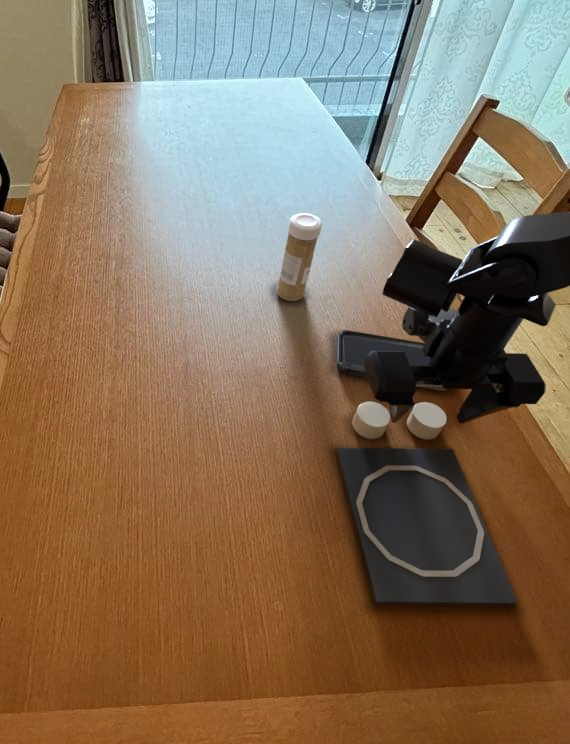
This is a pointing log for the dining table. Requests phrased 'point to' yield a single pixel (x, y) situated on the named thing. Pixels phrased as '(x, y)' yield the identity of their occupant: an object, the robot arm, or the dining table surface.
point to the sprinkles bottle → (298, 255)
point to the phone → (359, 345)
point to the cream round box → (371, 420)
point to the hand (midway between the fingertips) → (425, 420)
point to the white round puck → (426, 420)
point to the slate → (421, 529)
